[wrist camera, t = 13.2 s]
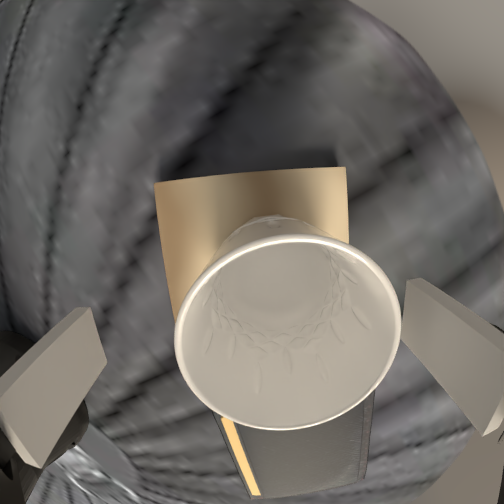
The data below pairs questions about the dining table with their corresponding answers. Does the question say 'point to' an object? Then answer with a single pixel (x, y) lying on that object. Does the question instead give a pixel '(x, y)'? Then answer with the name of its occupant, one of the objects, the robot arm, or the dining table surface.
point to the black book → (301, 454)
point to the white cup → (286, 326)
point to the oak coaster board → (240, 213)
